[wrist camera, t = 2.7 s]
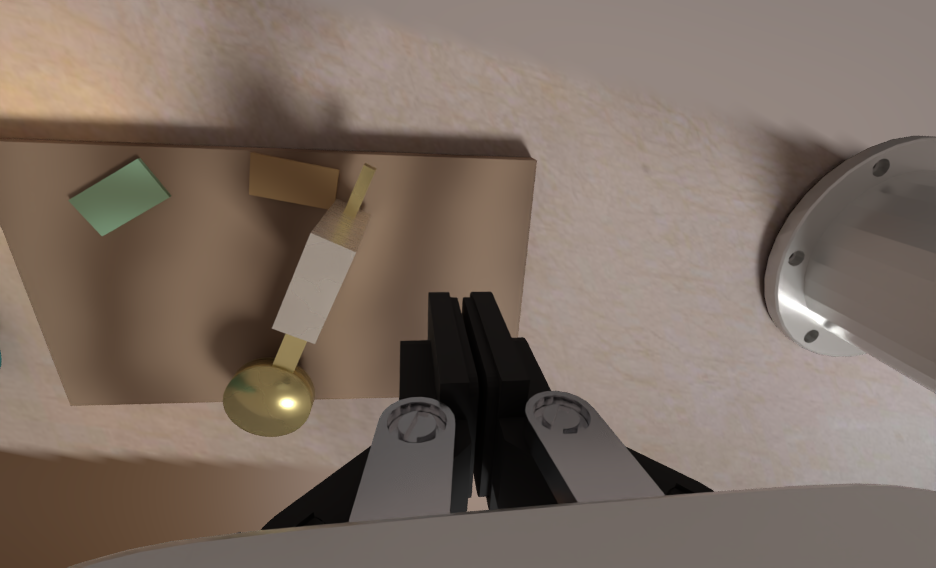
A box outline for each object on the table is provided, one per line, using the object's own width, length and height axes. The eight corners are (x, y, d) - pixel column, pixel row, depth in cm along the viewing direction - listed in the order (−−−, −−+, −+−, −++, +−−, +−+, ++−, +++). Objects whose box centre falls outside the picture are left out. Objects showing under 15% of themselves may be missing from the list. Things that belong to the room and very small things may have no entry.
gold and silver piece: (302, 421, 24) (274, 501, 19) (227, 398, 23) (178, 476, 18) (415, 183, 19) (414, 212, 15) (328, 139, 18) (297, 156, 14)
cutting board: (531, 157, 21) (542, 164, 19) (508, 383, 26) (515, 405, 24) (-10, 137, 18) (-58, 142, 16) (84, 393, 23) (56, 419, 22)
